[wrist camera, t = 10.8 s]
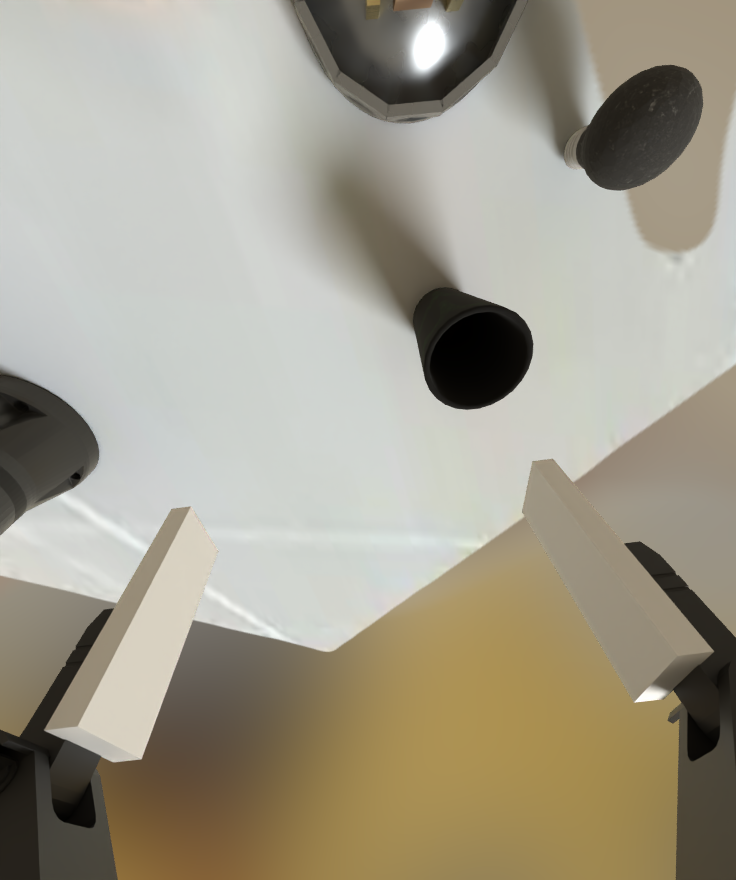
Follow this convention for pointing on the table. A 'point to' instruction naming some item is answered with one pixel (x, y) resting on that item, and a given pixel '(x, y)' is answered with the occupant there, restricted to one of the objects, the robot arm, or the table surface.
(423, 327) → the cup
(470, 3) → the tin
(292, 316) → the table surface
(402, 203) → the table surface
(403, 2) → the tapered wood plank
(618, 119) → the light bulb
